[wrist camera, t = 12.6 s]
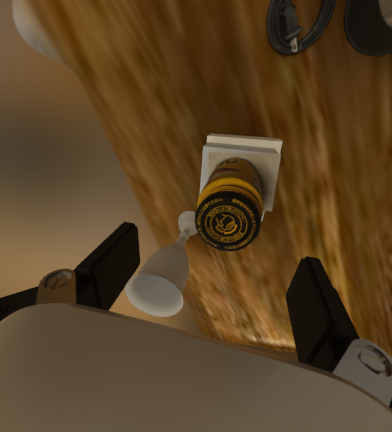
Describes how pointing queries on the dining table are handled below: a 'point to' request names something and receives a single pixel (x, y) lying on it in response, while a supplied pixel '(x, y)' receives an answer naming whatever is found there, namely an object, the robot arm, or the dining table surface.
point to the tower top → (227, 148)
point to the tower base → (246, 141)
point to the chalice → (164, 275)
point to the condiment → (236, 198)
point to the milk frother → (354, 21)
